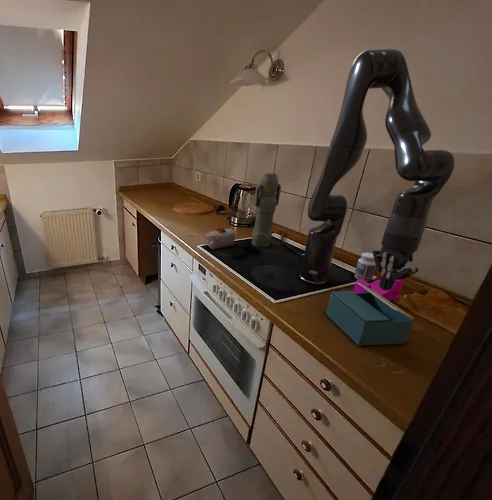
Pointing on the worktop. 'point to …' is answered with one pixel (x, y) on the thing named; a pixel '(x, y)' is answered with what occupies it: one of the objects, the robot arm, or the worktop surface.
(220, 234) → the food item
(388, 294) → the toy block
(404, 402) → the worktop surface
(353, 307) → the box
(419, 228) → the robot arm
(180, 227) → the worktop surface
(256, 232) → the thermos
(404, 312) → the lid
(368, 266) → the pill bottle
